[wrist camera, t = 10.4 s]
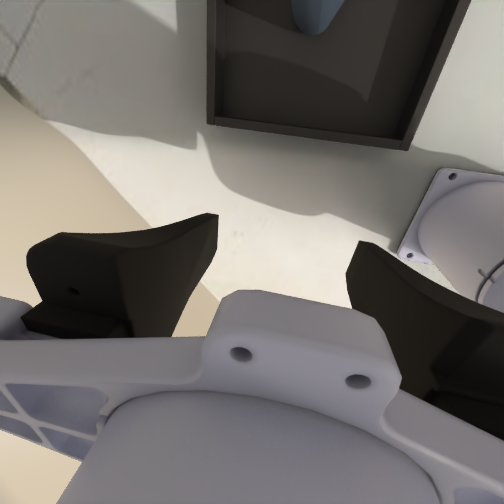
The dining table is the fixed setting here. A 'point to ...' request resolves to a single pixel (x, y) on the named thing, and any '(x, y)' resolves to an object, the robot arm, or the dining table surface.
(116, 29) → the dining table surface
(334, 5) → the vaping device
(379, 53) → the tray
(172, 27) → the dining table surface
